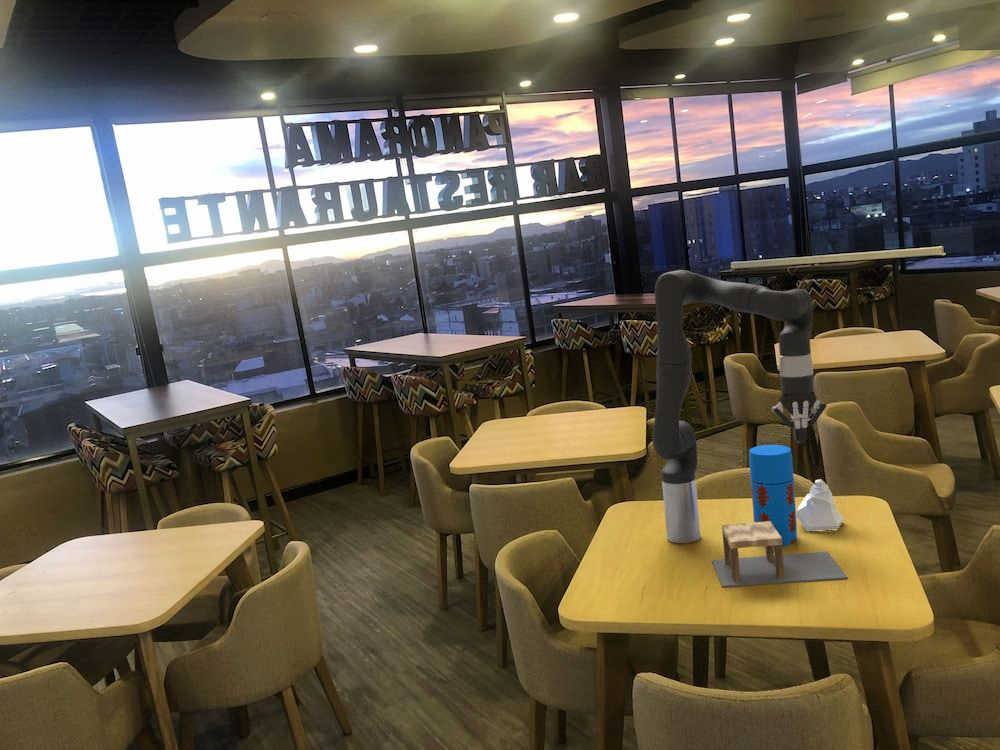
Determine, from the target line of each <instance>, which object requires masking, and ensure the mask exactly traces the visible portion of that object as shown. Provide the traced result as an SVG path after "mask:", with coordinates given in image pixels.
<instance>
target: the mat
mask: <svg viewBox="0 0 1000 750" xmlns="http://www.w3.org/2000/svg"><path fill="white" fill-rule="evenodd" d="M711 562H712V565H713V568H714V570H715V572H716V573H715V574H716V575H717V578H718V580H719V582H720V585H721V587H722V588H731V587H732V588H733V587H747V586H748V587H749V586H760V585H761V586H763V585H776V584H787V583H788V584H791V583H802V582H803V583H804V582H817V581H818V582H820V581H832V580H833V581H834V580H847V579H849V577H848V575H847V574H846V573H845V572H844V571H843V569H842V568H841V567H840V565H839V564H838V562H837V561H836V560H835V559H834V557H833V556H832V555H831V553H830V552H828V551H817V552H816V551H814V552H803V553H788V554H783V562H784V576H785V578H777V576H776V566H775V554H774V561H767V558H766V555H761V556H746V557H739V570H740V581H733V579H732V568H731V564H727V565H726V563H725V558H720V559H719V558H717V559H711Z"/></svg>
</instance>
